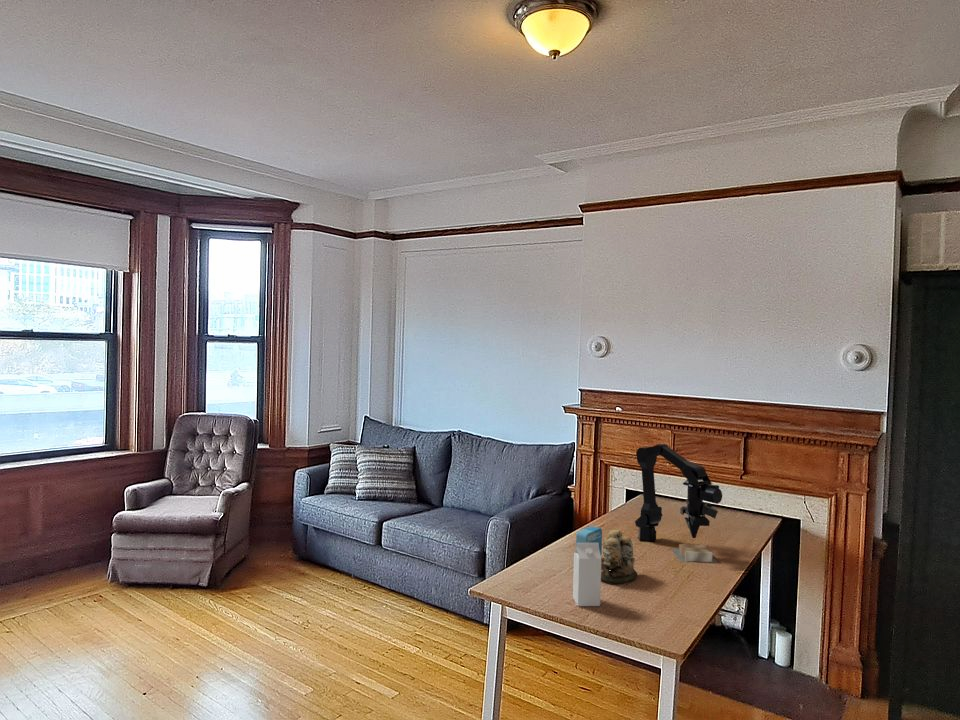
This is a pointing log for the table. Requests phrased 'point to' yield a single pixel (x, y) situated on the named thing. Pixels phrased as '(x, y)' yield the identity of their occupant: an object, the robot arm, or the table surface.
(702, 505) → the robot arm
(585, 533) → the data package
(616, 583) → the owl figurine
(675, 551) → the mat
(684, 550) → the slab
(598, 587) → the milk carton
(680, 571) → the table surface
